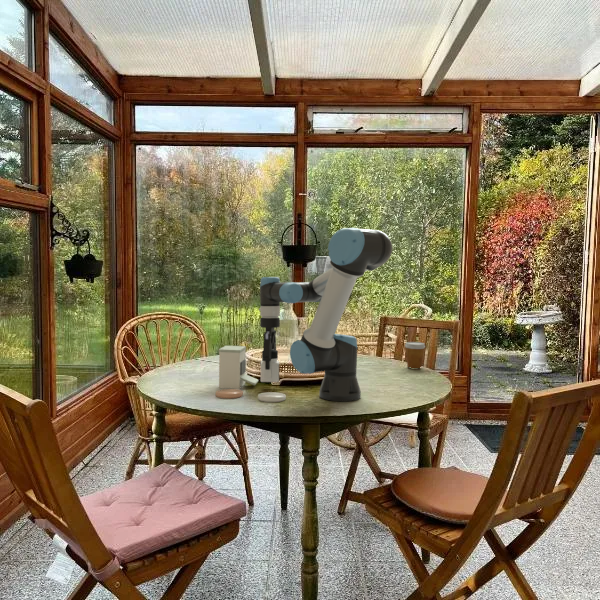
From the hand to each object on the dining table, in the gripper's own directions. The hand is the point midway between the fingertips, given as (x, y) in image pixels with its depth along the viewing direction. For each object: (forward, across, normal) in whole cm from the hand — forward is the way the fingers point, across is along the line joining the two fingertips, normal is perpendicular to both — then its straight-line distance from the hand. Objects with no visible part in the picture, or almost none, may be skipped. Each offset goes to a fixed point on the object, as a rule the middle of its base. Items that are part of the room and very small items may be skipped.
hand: (269, 375), depth 214 cm
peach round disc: (+5, +14, -12) cm, 19 cm away
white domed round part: (+5, +16, +4) cm, 17 cm away
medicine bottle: (+2, 0, 0) cm, 2 cm away
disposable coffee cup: (+5, -58, +60) cm, 83 cm away
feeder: (+5, -2, -13) cm, 14 cm away
